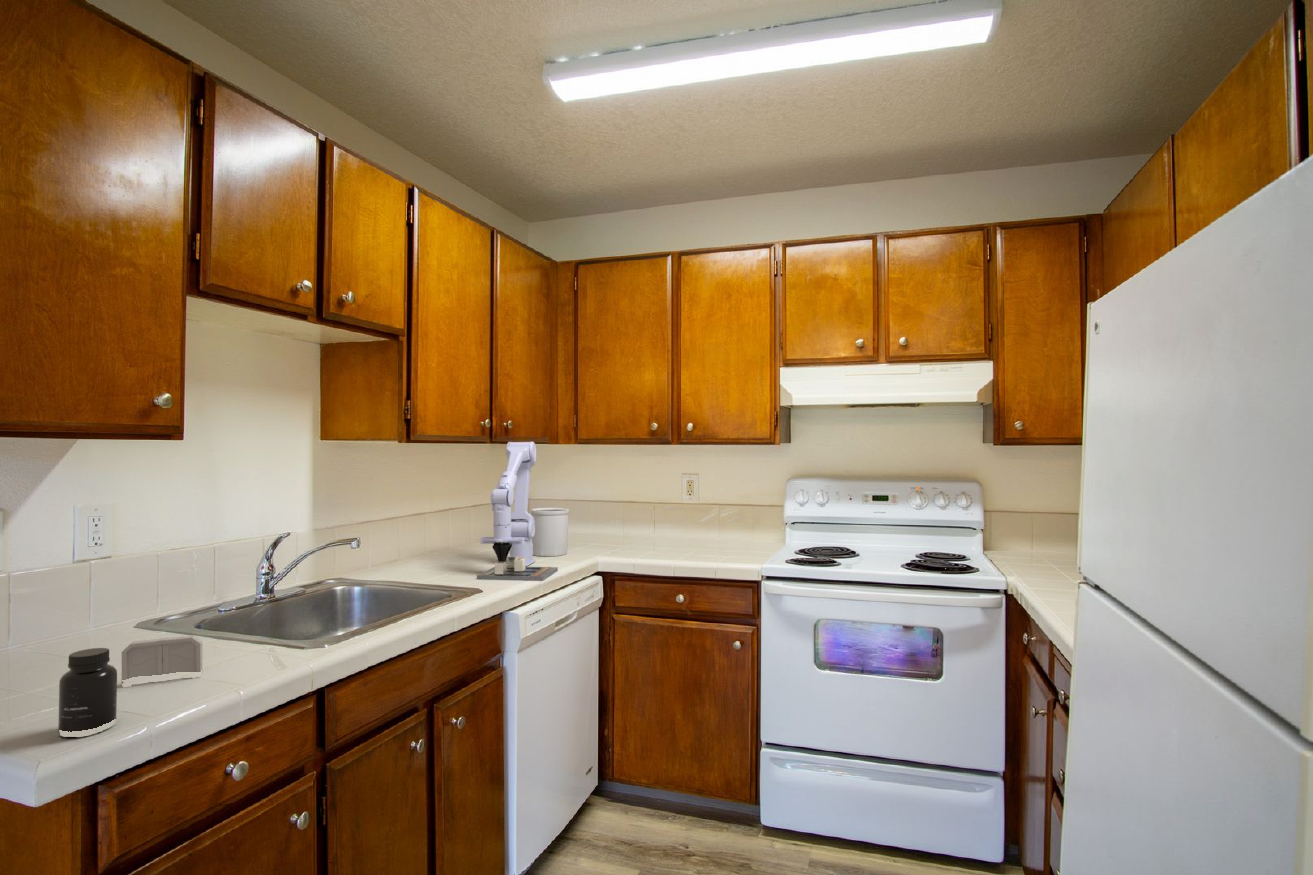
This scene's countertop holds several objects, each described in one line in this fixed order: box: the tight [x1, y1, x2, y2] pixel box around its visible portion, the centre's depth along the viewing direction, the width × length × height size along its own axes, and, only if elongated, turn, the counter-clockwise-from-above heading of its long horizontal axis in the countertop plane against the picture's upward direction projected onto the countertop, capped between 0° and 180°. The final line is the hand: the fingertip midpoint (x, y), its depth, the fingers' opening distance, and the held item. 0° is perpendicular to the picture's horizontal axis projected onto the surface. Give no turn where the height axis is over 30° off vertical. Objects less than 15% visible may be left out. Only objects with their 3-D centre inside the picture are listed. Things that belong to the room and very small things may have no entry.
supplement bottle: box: [58, 647, 118, 732], centre depth 102 cm, size 7×7×12 cm
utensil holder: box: [530, 507, 570, 557], centre depth 259 cm, size 15×15×18 cm
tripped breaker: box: [514, 558, 526, 571], centre depth 218 cm, size 3×3×4 cm
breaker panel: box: [476, 555, 559, 582], centre depth 218 cm, size 16×22×5 cm
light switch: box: [121, 634, 203, 681], centre depth 123 cm, size 2×12×8 cm, turn 114°
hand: (502, 565), depth 219 cm, fingers closed
